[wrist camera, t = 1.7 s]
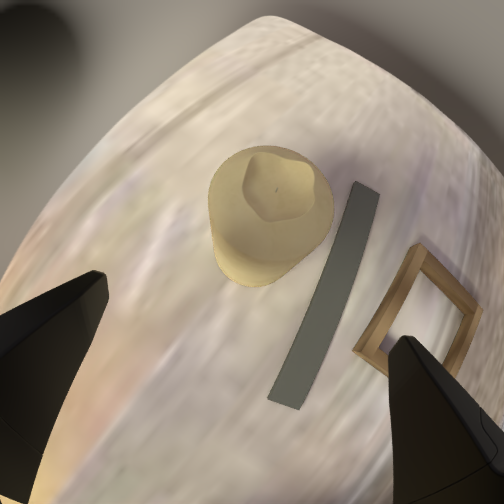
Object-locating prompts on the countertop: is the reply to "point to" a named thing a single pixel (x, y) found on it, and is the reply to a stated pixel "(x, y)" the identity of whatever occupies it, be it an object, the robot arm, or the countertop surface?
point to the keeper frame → (395, 298)
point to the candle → (267, 213)
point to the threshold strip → (327, 300)
